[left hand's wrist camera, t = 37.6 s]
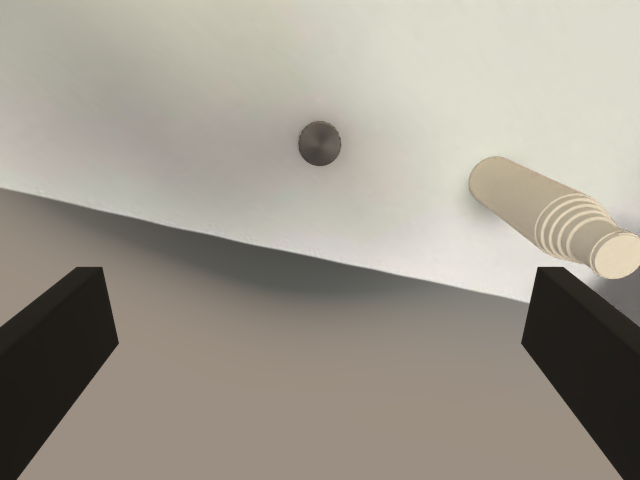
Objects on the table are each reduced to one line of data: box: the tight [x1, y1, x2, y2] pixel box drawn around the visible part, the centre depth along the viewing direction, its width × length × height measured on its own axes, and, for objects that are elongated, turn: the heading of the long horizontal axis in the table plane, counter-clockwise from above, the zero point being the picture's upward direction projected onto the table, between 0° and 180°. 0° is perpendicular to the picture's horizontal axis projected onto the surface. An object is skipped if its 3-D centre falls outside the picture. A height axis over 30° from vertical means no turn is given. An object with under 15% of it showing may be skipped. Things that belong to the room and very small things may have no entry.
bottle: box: [469, 157, 640, 279], centre depth 36 cm, size 5×5×21 cm
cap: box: [299, 121, 341, 166], centre depth 43 cm, size 4×4×2 cm
